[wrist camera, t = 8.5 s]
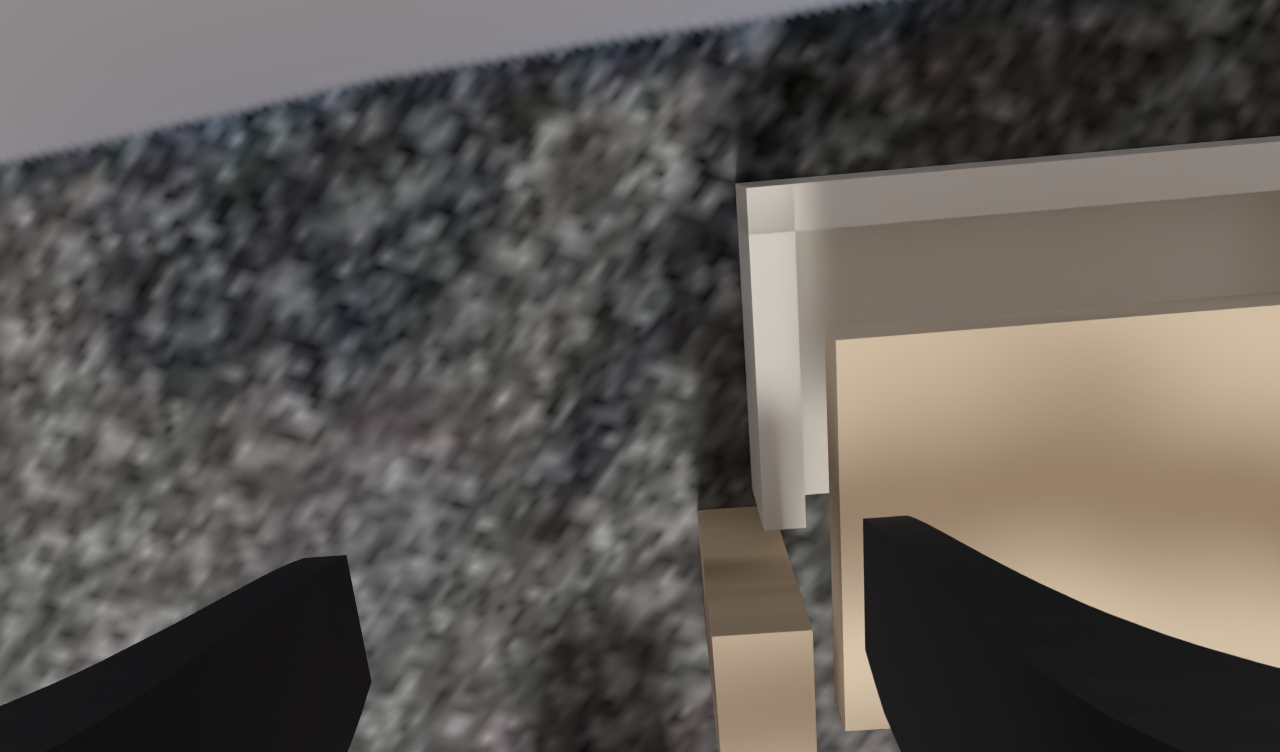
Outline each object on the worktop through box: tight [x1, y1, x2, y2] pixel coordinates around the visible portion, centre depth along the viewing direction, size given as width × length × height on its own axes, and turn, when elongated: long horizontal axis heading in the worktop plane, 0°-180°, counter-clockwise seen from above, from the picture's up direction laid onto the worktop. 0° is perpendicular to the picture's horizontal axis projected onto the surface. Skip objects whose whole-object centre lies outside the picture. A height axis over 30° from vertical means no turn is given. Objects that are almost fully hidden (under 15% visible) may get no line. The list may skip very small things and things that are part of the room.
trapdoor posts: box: [697, 506, 817, 752], centre depth 20 cm, size 4×17×6 cm, turn 95°
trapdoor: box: [824, 292, 1280, 731], centre depth 17 cm, size 15×12×4 cm
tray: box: [735, 136, 1280, 531], centre depth 20 cm, size 14×8×2 cm, turn 95°
